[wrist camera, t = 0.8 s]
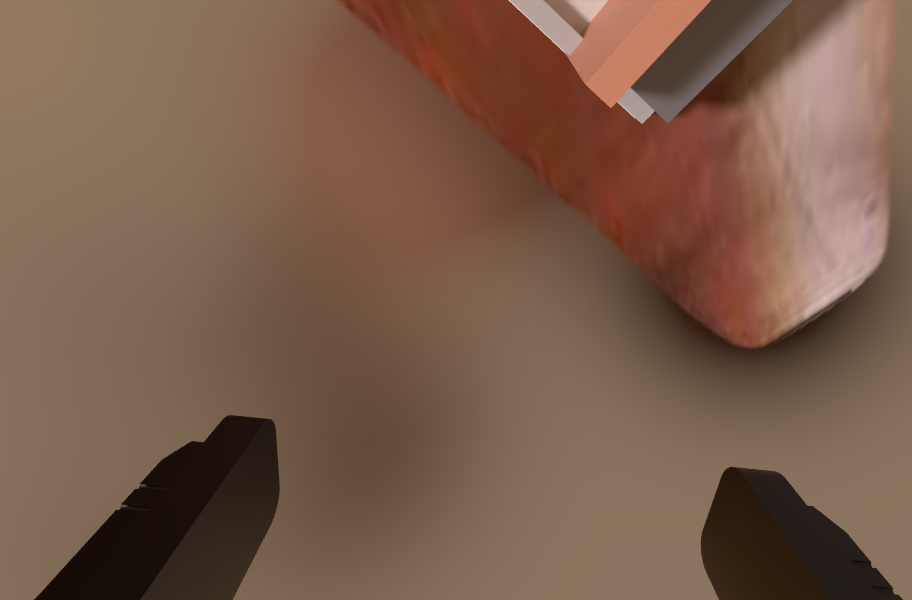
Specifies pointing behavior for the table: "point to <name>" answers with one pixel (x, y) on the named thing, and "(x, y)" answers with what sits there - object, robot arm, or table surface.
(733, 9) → the channel rail
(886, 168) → the table surface
